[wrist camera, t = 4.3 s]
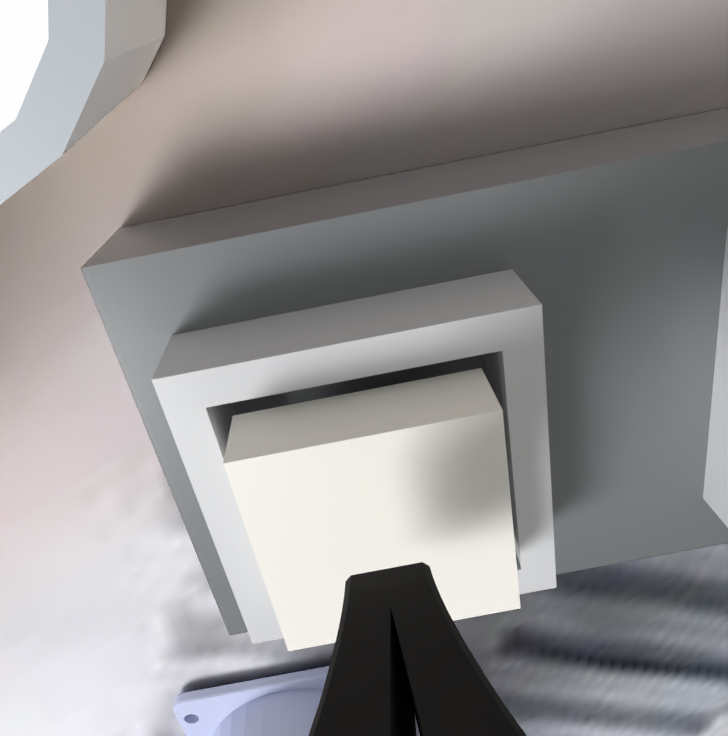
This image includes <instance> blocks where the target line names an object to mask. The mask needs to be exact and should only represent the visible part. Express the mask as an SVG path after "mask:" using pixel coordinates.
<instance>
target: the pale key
mask: <svg viewBox="0 0 728 736" xmlns="http://www.w3.org/2000/svg"><path fill="white" fill-rule="evenodd" d="M223 465H224V468H225V471H226V474H227V476H228V479H229V482H230V485H231V488H232V491H233V494H234V497H235V499H236V502H237V505H238V508H239V511H240V514H241V517H242V520H243V522H244V525H245V528H246V531H247V534H248V537H249V540H250V543H251V545H252V548H253V551H254V554H255V557H256V560H257V563H258V565H259V568H260V571H261V574H262V577H263V580H264V583H265V586H266V588H267V591H268V594H269V597H270V600H271V603H272V606H273V609H274V611H275V614H276V617H277V620H278V623H279V626H280V629H281V632H282V634H283V637H284V640H285V643H286V646H287V649H288V651H293V650H298V649H304V648H309V647H314V646H320V645H325V644H331V643H335V642H336V637H337V633H338V629H339V624H340V618H341V613H342V607H343V600H344V592H345V581H346V580H347V579H348V578H349V577H350V576H351V575H355V574H361V573H366V572H372V571H377V570H382V569H388V568H393V567H398V566H404V565H409V564H415V563H420V562H423V563H425V564H427V565H429V566H430V569H431V573H432V576H433V578H434V581H435V584H436V586H437V589H438V591H439V593H440V596H441V598H442V600H443V602H444V604H445V606H446V608H447V610H448V612H449V614H450V616H451V618H452V620H453V621H455V620H460V619H466V618H471V617H477V616H482V615H487V614H493V613H498V612H504V611H509V610H514V609H520V608H521V607H520V596H519V585H518V574H517V563H516V552H515V541H514V530H513V519H512V507H511V496H510V485H509V474H508V463H507V452H506V441H505V430H504V419H503V410H502V408H501V406H500V404H499V402H498V400H497V398H496V396H495V394H494V392H493V390H492V388H491V386H490V384H489V382H488V380H487V378H486V376H485V374H484V372H483V370H482V368H478V369H473V370H468V371H463V372H457V373H452V374H447V375H442V376H437V377H431V378H426V379H421V380H416V381H411V382H405V383H400V384H395V385H390V386H385V387H379V388H374V389H369V390H364V391H358V392H353V393H348V394H343V395H338V396H332V397H327V398H322V399H317V400H312V401H306V402H301V403H296V404H291V405H286V406H280V407H275V408H270V409H265V410H260V411H254V412H249V413H244V414H239V415H234V416H233V417H232V422H231V427H230V431H229V436H228V441H227V446H226V451H225V456H224V461H223Z"/></svg>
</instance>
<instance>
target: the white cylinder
mask: <svg viewBox="0 0 728 736" xmlns="http://www.w3.org/2000/svg"><path fill="white" fill-rule="evenodd" d="M166 10H167V0H0V205H1V204H2V203H3V202H4V201H6V200H7V199H8V198H9V197H11V196H12V195H13V194H14V193H16V192H17V191H18V190H19V189H21V188H22V187H23V186H24V185H26V184H27V183H28V182H29V181H31V180H32V179H33V178H34V177H36V176H37V175H38V174H39V173H41V172H42V171H43V170H44V169H46V168H47V167H48V166H49V165H51V164H52V163H53V162H54V161H56V160H57V159H58V158H59V157H61V156H62V155H63V154H64V153H65V152H66V151H67V150H69V149H70V148H71V147H72V146H73V145H74V144H75V143H76V142H77V141H78V140H80V139H81V138H82V137H83V136H84V135H85V134H86V133H87V132H88V131H89V130H91V129H92V128H93V127H94V126H95V125H96V124H97V123H98V122H99V121H100V120H102V119H103V118H104V117H105V116H106V115H107V114H108V113H109V112H110V111H112V110H113V109H114V108H115V107H116V106H117V105H118V104H119V103H120V102H121V101H123V100H124V99H125V98H126V97H127V96H128V95H129V94H130V93H131V92H132V91H134V90H135V89H136V88H137V87H138V86H139V85H140V84H141V83H142V82H143V81H144V79H145V77H146V74H147V72H148V70H149V68H150V66H151V64H152V62H153V60H154V58H155V56H156V54H157V51H158V49H159V47H160V45H161V43H162V41H163V39H164V37H165V28H166Z"/></svg>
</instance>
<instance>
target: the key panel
mask: <svg viewBox="0 0 728 736" xmlns="http://www.w3.org/2000/svg"><path fill="white" fill-rule="evenodd" d="M81 270H82V272H83V275H84V277H85V280H86V282H87V285H88V287H89V290H90V292H91V295H92V297H93V299H94V302H95V304H96V307H97V309H98V312H99V314H100V317H101V319H102V322H103V324H104V327H105V329H106V332H107V334H108V336H109V339H110V341H111V344H112V346H113V349H114V351H115V354H116V356H117V359H118V361H119V364H120V366H121V369H122V371H123V373H124V376H125V378H126V381H127V383H128V386H129V388H130V391H131V393H132V396H133V398H134V401H135V403H136V406H137V408H138V410H139V413H140V415H141V418H142V420H143V423H144V425H145V428H146V430H147V433H148V435H149V438H150V440H151V443H152V445H153V448H154V450H155V452H156V455H157V457H158V460H159V462H160V465H161V467H162V470H163V472H164V475H165V477H166V480H167V482H168V485H169V487H170V489H171V492H172V494H173V497H174V499H175V502H176V504H177V507H178V509H179V512H180V514H181V517H182V519H183V522H184V524H185V526H186V529H187V531H188V534H189V536H190V539H191V541H192V544H193V546H194V549H195V551H196V554H197V556H198V559H199V561H200V563H201V566H202V568H203V571H204V573H205V576H206V578H207V581H208V583H209V586H210V588H211V591H212V593H213V596H214V598H215V600H216V603H217V605H218V608H219V610H220V613H221V615H222V618H223V620H224V623H225V625H226V628H227V630H228V633H229V635H234V634H239V633H245V632H248V633H249V635H250V638H251V641H252V643H253V644H255V643H261V642H266V641H271V640H277V639H282V638H284V637H283V634H282V632H281V629H280V626H279V623H278V620H277V617H276V614H275V611H274V609H273V606H272V603H271V600H270V597H269V594H268V591H267V588H266V586H265V583H264V580H263V577H262V574H261V571H260V568H259V565H258V563H257V560H256V557H255V554H254V551H253V548H252V545H251V543H250V540H249V537H248V534H247V531H246V528H245V525H244V522H243V520H242V517H241V514H240V511H239V508H238V505H237V502H236V499H235V497H234V494H233V491H232V488H231V485H230V482H229V479H228V476H227V474H226V471H225V468H224V465H223V461H224V456H225V451H226V446H227V441H228V436H229V431H230V427H231V422H232V417H233V416H234V415H239V414H244V413H249V412H254V411H260V410H265V409H270V408H275V407H280V406H286V405H291V404H296V403H301V402H306V401H312V400H317V399H322V398H327V397H332V396H338V395H343V394H348V393H353V392H358V391H364V390H369V389H374V388H379V387H385V386H390V385H395V384H400V383H405V382H411V381H416V380H421V379H426V378H431V377H437V376H442V375H447V374H452V373H457V372H463V371H468V370H473V369H478V368H482V370H483V372H484V374H485V376H486V378H487V380H488V382H489V384H490V386H491V388H492V390H493V392H494V394H495V396H496V398H497V400H498V402H499V404H500V406H501V408H502V410H503V419H504V430H505V441H506V452H507V463H508V474H509V485H510V496H511V507H512V519H513V530H514V541H515V552H516V563H517V574H518V585H519V594H525V593H530V592H536V591H541V590H546V589H552V588H557V586H556V575H557V574H562V573H568V572H573V571H579V570H584V569H589V568H595V567H600V566H606V565H611V564H616V563H622V562H627V561H632V560H638V559H643V558H649V557H654V556H659V555H665V554H670V553H675V552H681V551H686V550H692V549H697V548H702V547H708V546H713V545H719V544H724V543H728V108H723V109H718V110H712V111H707V112H702V113H697V114H692V115H687V116H682V117H677V118H672V119H667V120H662V121H657V122H652V123H647V124H642V125H637V126H632V127H627V128H622V129H617V130H612V131H607V132H601V133H596V134H591V135H586V136H581V137H576V138H571V139H566V140H561V141H556V142H551V143H546V144H541V145H536V146H531V147H526V148H521V149H516V150H511V151H506V152H501V153H496V154H490V155H485V156H480V157H475V158H470V159H465V160H460V161H455V162H450V163H445V164H440V165H435V166H430V167H425V168H420V169H415V170H410V171H405V172H400V173H395V174H390V175H385V176H380V177H374V178H369V179H364V180H359V181H354V182H349V183H344V184H339V185H334V186H329V187H324V188H319V189H314V190H309V191H304V192H299V193H294V194H289V195H284V196H279V197H274V198H269V199H263V200H258V201H253V202H248V203H243V204H238V205H233V206H228V207H223V208H218V209H213V210H208V211H203V212H198V213H193V214H188V215H183V216H178V217H173V218H168V219H163V220H158V221H152V222H147V223H142V224H137V225H132V226H127V227H122V228H119V229H118V230H117V231H116V232H115V233H114V234H113V235H112V236H111V238H110V239H109V240H108V241H107V242H106V243H105V244H104V245H103V246H102V247H101V248H100V249H99V250H98V251H97V252H96V253H95V254H94V255H93V256H92V257H91V258H90V259H89V260H88V261H87V262H86V263H85V264H84V265H83V266H82V267H81Z"/></svg>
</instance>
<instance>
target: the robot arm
mask: <svg viewBox="0 0 728 736" xmlns="http://www.w3.org/2000/svg"><path fill="white" fill-rule="evenodd" d="M173 709H174V713H175V715H176V717H177V719H178V721H179V723H180V725H181V727H182V728H183V730H184V732H185V734H186V736H416V726H415V716H416V720H417V725H418V729H419V733H420V736H526V734H525V733H524V732H523V730H522V729H521V727H520V726H519V725H518V723H517V722H516V720H515V719H514V718H513V716H512V715H511V713H510V712H509V710H508V709H507V708H506V706H505V705H504V703H503V702H502V700H501V699H500V698H499V696H498V695H497V693H496V691H495V690H494V688H493V687H492V685H491V684H490V682H489V681H488V679H487V678H486V676H485V675H484V673H483V671H482V670H481V668H480V666H479V665H478V663H477V662H476V660H475V658H474V657H473V655H472V653H471V652H470V650H469V648H468V647H467V645H466V644H465V642H464V640H463V638H462V637H461V635H460V633H459V631H458V629H457V628H456V626H455V624H454V622H453V620H452V618H451V616H450V614H449V612H448V610H447V608H446V606H445V604H444V602H443V600H442V598H441V596H440V593H439V591H438V589H437V586H436V584H435V581H434V578H433V576H432V573H431V569H430V566H429V565H427V564H425V563H423V562H420V563H415V564H409V565H404V566H398V567H393V568H388V569H382V570H377V571H372V572H366V573H361V574H355V575H351V576H350V577H349V578H348V579H347V580H346V581H345V592H344V600H343V607H342V613H341V618H340V624H339V629H338V633H337V637H336V642H335V646H334V651H333V655H332V658H331V662H330V666H325V667H320V668H315V669H309V670H304V671H298V672H293V673H287V674H282V675H277V676H271V677H266V678H260V679H255V680H249V681H244V682H239V683H233V684H228V685H222V686H217V687H211V688H206V689H201V690H195V691H190V692H185V693H182V694H180V695H178V696H177V697H176V699H175V702H174V707H173Z"/></svg>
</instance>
